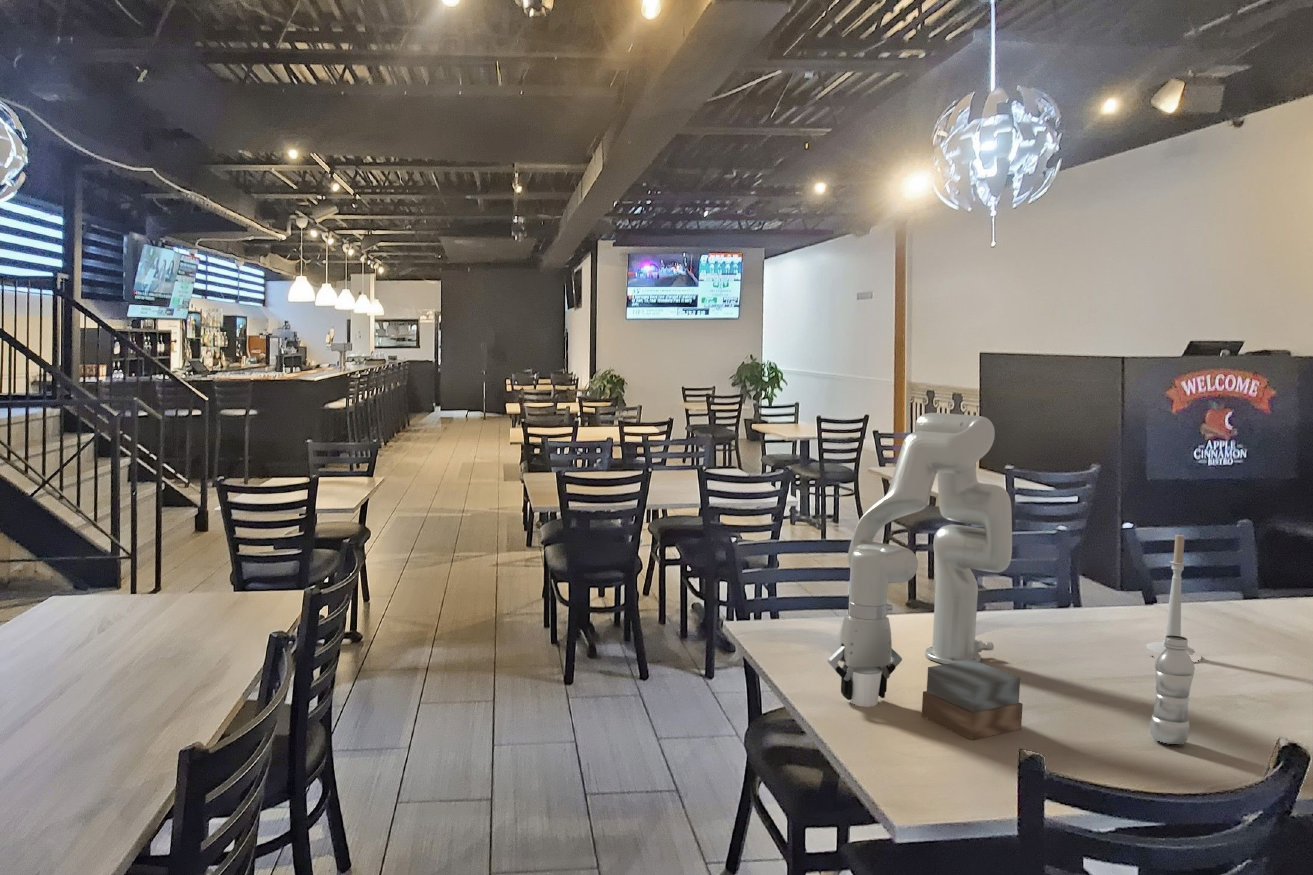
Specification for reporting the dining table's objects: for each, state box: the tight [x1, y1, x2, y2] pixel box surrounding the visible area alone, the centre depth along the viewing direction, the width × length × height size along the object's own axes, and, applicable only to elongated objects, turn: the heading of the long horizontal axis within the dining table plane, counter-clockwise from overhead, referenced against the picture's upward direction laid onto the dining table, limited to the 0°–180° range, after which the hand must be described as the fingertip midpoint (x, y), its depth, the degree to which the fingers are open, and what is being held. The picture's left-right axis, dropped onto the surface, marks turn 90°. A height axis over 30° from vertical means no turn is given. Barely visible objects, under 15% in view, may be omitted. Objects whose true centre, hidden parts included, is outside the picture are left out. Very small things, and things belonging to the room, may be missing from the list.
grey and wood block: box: [921, 660, 1024, 741], centre depth 189 cm, size 13×13×10 cm
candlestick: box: [1145, 534, 1196, 655], centre depth 237 cm, size 13×13×30 cm
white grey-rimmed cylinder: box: [848, 667, 882, 708], centre depth 199 cm, size 7×7×7 cm
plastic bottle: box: [1149, 635, 1196, 745], centre depth 181 cm, size 6×7×20 cm
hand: (863, 695), depth 199 cm, fingers open, 6 cm apart
